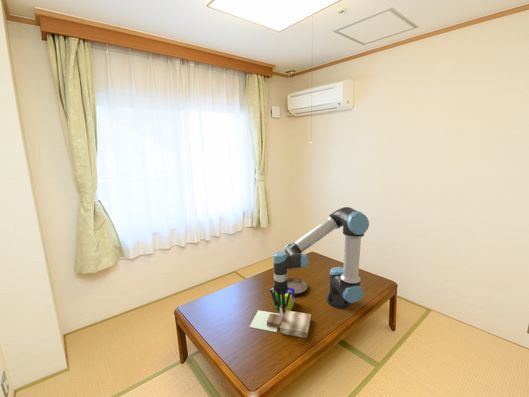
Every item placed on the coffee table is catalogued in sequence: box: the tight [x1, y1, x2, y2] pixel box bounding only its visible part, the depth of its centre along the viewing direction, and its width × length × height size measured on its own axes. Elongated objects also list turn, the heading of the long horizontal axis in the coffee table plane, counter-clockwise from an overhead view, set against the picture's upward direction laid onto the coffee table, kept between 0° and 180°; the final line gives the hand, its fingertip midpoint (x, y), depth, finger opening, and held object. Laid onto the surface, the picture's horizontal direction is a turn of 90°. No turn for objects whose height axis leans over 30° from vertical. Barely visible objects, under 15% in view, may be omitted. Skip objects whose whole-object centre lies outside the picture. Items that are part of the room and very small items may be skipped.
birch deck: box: [279, 310, 312, 339], centre depth 152 cm, size 15×16×4 cm
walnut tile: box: [267, 313, 284, 329], centre depth 155 cm, size 8×8×2 cm
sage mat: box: [249, 309, 280, 333], centre depth 157 cm, size 16×16×1 cm
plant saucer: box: [287, 277, 308, 296], centre depth 191 cm, size 21×21×3 cm
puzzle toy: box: [274, 288, 295, 311], centre depth 171 cm, size 10×10×10 cm
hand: (281, 316), depth 154 cm, fingers closed
